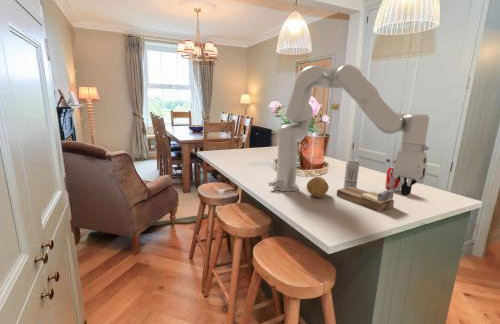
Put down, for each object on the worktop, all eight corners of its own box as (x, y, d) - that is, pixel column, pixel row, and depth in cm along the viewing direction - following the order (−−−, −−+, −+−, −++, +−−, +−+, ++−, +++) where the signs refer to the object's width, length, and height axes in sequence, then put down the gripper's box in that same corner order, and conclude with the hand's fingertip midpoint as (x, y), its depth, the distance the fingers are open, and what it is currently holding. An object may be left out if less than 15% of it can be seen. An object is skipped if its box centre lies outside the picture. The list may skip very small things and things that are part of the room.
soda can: (382, 189, 132) (386, 166, 129) (386, 186, 137) (390, 164, 134) (398, 193, 127) (402, 169, 124) (401, 190, 132) (405, 167, 129)
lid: (380, 203, 105) (382, 194, 104) (360, 196, 112) (361, 187, 111) (392, 199, 110) (394, 190, 109) (372, 193, 117) (373, 184, 116)
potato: (303, 199, 116) (305, 182, 114) (308, 189, 129) (309, 174, 127) (326, 202, 113) (328, 185, 111) (328, 192, 126) (330, 176, 124)
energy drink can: (344, 190, 129) (347, 160, 126) (342, 186, 135) (345, 158, 132) (357, 191, 128) (360, 161, 125) (355, 187, 134) (358, 159, 130)
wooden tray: (380, 212, 105) (381, 205, 104) (336, 195, 122) (337, 189, 121) (393, 207, 110) (394, 200, 109) (349, 192, 127) (350, 186, 126)
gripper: (439, 150, 93) (431, 198, 97) (397, 144, 105) (391, 187, 109) (430, 152, 89) (421, 202, 93) (387, 145, 101) (381, 191, 105)
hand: (405, 194), depth 101 cm, fingers closed
